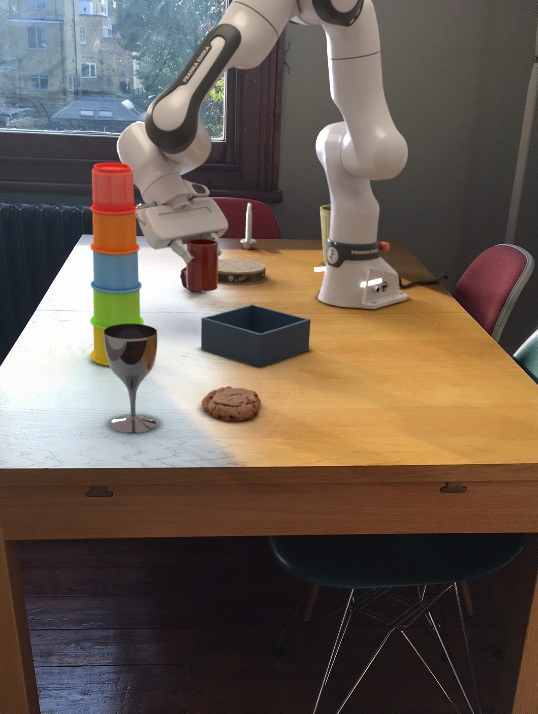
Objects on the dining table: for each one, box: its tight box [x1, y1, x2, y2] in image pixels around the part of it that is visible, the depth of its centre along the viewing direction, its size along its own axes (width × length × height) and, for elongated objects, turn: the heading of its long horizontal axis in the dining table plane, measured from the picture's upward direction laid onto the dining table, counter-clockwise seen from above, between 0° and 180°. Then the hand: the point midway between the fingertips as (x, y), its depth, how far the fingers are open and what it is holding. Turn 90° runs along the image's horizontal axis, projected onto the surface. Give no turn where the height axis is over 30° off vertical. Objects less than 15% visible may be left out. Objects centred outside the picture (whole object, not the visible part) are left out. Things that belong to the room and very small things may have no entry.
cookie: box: [201, 385, 262, 422], centre depth 144 cm, size 10×11×3 cm
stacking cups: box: [89, 162, 145, 367], centre depth 158 cm, size 10×10×35 cm
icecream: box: [179, 266, 204, 293], centre depth 211 cm, size 7×7×15 cm
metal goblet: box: [104, 324, 158, 434], centre depth 135 cm, size 8×8×15 cm
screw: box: [239, 202, 258, 250], centre depth 257 cm, size 13×5×5 cm
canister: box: [185, 239, 219, 292], centre depth 175 cm, size 6×6×9 cm
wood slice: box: [218, 258, 267, 285], centre depth 227 cm, size 16×16×3 cm
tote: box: [200, 303, 312, 368], centre depth 172 cm, size 15×15×6 cm
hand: (204, 258), depth 174 cm, fingers closed on canister, 6 cm apart
